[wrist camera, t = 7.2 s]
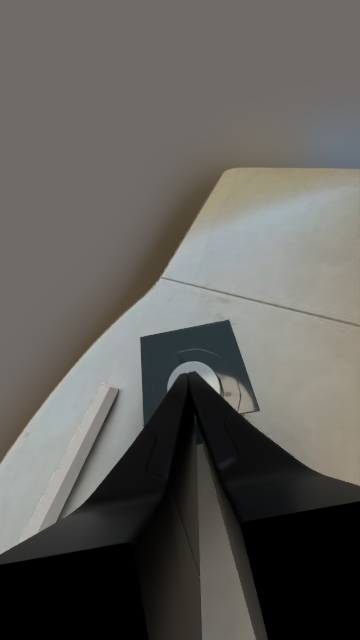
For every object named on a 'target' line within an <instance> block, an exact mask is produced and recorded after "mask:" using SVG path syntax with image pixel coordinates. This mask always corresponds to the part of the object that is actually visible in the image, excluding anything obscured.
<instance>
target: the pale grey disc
mask: <svg viewBox="0 0 360 640" xmlns="http://www.w3.org/2000/svg"><path fill="white" fill-rule="evenodd" d="M192 371H196V372H197V373H198V374H199V375H200V376H201V377H202V378H203V379H204V380H205V381H206V382H207V383H208V384H210V385H211V386H212V387H213V388H214V389H215V390H216V391H217V392H218V393H219V394H220V384H219V380H218V378H217V376H216V374H215V373H214V371H213V370H212V369H211V368H210V367H208V366H207V365H205V364H203V363H200V362H186V363H183V364H181V365H180V366H178V367H177V368H176V369H175V370H174V371H173V372H172V374H171V376H170V378H169V381H168V385H167V392H168V391H169V389H170V388H171V386H172V385H173V383H174V382H175V380H176V379H177V377H178V376H179V374H182V373H188V372H192ZM195 418H196V417H195Z"/></svg>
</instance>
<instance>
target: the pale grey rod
mask: <svg viewBox="0 0 360 640" xmlns="http://www.w3.org/2000/svg"><path fill="white" fill-rule="evenodd" d="M118 390H119V389H118V388H115V387H113V386H110V385H108V384H105V383H101V385H100V387H99V389H98V390H97V392H96V394H95V396H94V398H93V400H92V402H91V404H90V406H89V408H88V410H87V411H86V413H85V415H84V417H83V419H82V421H81V423H80V425H79V427H78V429H77V431H76V432H75V434H74V436H73V438H72V440H71V442H70V444H69V446H68V448H67V450H66V451H65V453H64V455H63V457H62V459H61V461H60V463H59V465H58V467H57V469H56V471H55V472H54V474H53V476H52V478H51V480H50V482H49V484H48V486H47V488H46V490H45V491H44V493H43V495H42V497H41V499H40V501H39V503H38V505H37V507H36V509H35V511H34V512H33V514H32V516H31V518H30V520H29V522H28V524H27V526H26V528H25V530H24V532H23V533H22V535H21V537H20V539H19V541H18V542H19V543H21V542H23V541H25V540H26V539H28V538H30V537H32V536H33V535H35V534H37V533H39V532H40V531H42V530H44V529H45V528H47V527H49V526H51V525H52V524H54V523H56V521H57V519H58V517H59V515H60V512H61V510H62V508H63V506H64V504H65V502H66V500H67V498H68V496H69V494H70V491H71V489H72V487H73V485H74V483H75V481H76V479H77V477H78V475H79V472H80V470H81V468H82V466H83V464H84V462H85V460H86V458H87V456H88V454H89V451H90V449H91V447H92V445H93V443H94V441H95V439H96V437H97V435H98V432H99V430H100V428H101V426H102V424H103V422H104V420H105V418H106V416H107V414H108V411H109V409H110V407H111V405H112V403H113V401H114V399H115V397H116V395H117V392H118Z"/></svg>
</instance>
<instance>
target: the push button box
mask: <svg viewBox="0 0 360 640" xmlns="http://www.w3.org/2000/svg"><path fill="white" fill-rule="evenodd" d="M140 341H141V367H142V392H143V418H144V427H145V425H146V424H147V423H148V421H149V419H150V418H151V416H152V415H153V413H154V412H155V410H156V409H157V407H158V406H159V404H160V403H161V401H162V400H163V398H164V397H165V395H166V394H167V385H168V381H169V378H170V376H171V374H172V372H173V371H174V370H175V369H176V368H177V367H178V366H180V365H181V364H183V363H186V362H200V363H203V364H205V365H207V366H208V367H210V368H211V369H212V370H213V371H214V373H215V374H216V376H217V378H218V380H219V384H220V395H221V396H222V397H223V398H224V399H225V400H226V401H227V402H228V403H229V404H230V405H231V406H232V407H233V408H234V409H235V410H236V411H237V412H238V413H239V414H245V413H251V412H257V411H260V409H259V406H258V403H257V400H256V397H255V394H254V391H253V388H252V386H251V383H250V380H249V377H248V374H247V371H246V368H245V365H244V362H243V359H242V356H241V353H240V350H239V347H238V344H237V342H236V339H235V336H234V333H233V330H232V327H231V324H230V321H229V320H225V321H220V322H215V323H209V324H204V325H199V326H194V327H189V328H184V329H179V330H174V331H169V332H164V333H159V334H154V335H149V336H144V337H140ZM195 419H196V418H195ZM197 444H202V440H201V437H200V433H199V429H198V426H197V422H196V445H197Z"/></svg>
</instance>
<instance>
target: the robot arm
mask: <svg viewBox="0 0 360 640" xmlns="http://www.w3.org/2000/svg"><path fill="white" fill-rule="evenodd" d="M195 417H196V419H195ZM196 422H197V426H198V429H199V433H200V437H201V440H202V444H203V448H204V451H205V455H206V459H207V462H208V466H209V469H210V473H211V477H212V480H213V484H214V488H215V491H216V495H217V499H218V502H219V506H220V510H221V513H222V517H223V521H224V524H225V528H226V532H227V535H228V539H229V542H230V546H231V550H232V553H233V557H234V561H235V564H236V568H237V571H238V575H239V579H240V583H241V586H242V590H243V594H244V597H245V601H246V605H247V608H248V612H249V616H250V619H251V623H252V626H253V630H254V634H255V637H256V640H360V486H358V485H355V484H352V483H348V482H345V481H342V480H338V479H335V478H332V477H328V476H325V475H323V474H320V473H318V472H316V471H314V470H312V469H311V468H309V467H307V466H306V465H304V464H303V463H301V462H300V461H298V460H297V459H296V458H294V457H293V456H292V455H290V454H289V453H288V452H286V451H285V450H284V449H283V448H281V447H280V446H279V445H277V444H276V443H275V442H273V441H272V440H271V439H270V438H268V437H267V436H266V435H264V434H263V433H262V432H260V431H259V430H258V429H257V428H255V427H254V426H253V425H252V424H251V423H249V422H248V421H247V420H246V419H245V418H244V417H243V416H242V415H240V414H239V413H238V412H237V411H236V410H235V409H234V408H233V407H232V406H231V405H230V404H229V403H228V402H227V401H226V400H225V399H224V398H223V397H222V396H221V395H220V394H219V393H218V392H217V391H216V390H215V389H214V388H213V387H212V386H211V385H210V384H208V383H207V382H206V381H205V380H204V379H203V378H202V377H201V376H200V375H199V374H198V373H197V372H196V371H192V372H188V373H182V374H179V376H178V377H177V379H176V380H175V382H174V383H173V385H172V386H171V388H170V389H169V391H168V392H167V394H166V395H165V397H164V398H163V400H162V401H161V403H160V404H159V406H158V407H157V409H156V410H155V412H154V413H153V415H152V416H151V418H150V419H149V421H148V423H147V424H146V425H145V427H144V428H143V430H142V431H141V432H140V434H139V435H138V437H137V438H136V440H135V441H134V442H133V444H132V445H131V446H130V447H129V449H128V450H127V451H126V453H125V454H124V455H123V456H122V458H121V459H120V460H119V461H118V463H117V464H116V465H115V466H114V468H113V469H112V470H111V471H110V473H109V474H108V475H107V476H106V478H105V479H104V480H103V481H102V483H101V484H100V485H99V486H98V487H97V489H96V490H95V491H94V492H93V493H92V495H91V496H90V497H89V498H88V499H87V500H86V501H85V502H84V503H83V504H82V505H81V506H80V507H79V508H77V509H76V510H75V511H74V512H72V513H71V514H69V515H68V516H66V517H65V518H63V519H61V520H59V521H58V522H56V523H54V524H52V525H51V526H49V527H47V528H45V529H44V530H42V531H40V532H39V533H37V534H35V535H33V536H32V537H30V538H28V539H26V540H25V541H23V542H21V543H19V544H18V545H16V546H14V547H13V548H11V549H9V550H7V551H6V552H4V553H2V554H0V640H202V622H201V586H200V553H199V517H198V481H197V445H196Z"/></svg>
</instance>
